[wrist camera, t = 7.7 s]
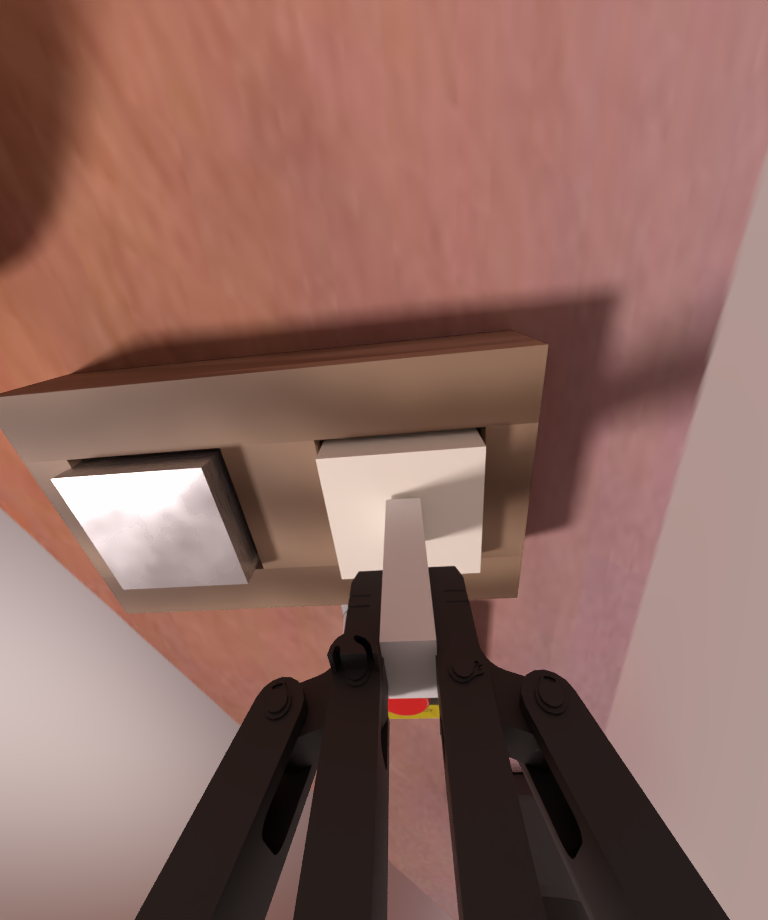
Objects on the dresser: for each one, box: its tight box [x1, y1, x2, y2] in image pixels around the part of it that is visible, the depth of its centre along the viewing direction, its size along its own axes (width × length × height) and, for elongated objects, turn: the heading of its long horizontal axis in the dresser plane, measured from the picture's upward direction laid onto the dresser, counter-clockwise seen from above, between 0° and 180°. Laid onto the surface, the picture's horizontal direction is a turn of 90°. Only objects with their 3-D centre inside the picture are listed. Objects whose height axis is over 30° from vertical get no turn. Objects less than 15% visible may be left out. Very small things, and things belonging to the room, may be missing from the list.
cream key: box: [315, 428, 486, 579], centre depth 17 cm, size 7×7×3 cm
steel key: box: [51, 448, 260, 590], centre depth 18 cm, size 7×7×3 cm
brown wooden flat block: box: [0, 330, 548, 614], centre depth 19 cm, size 14×24×4 cm, turn 96°
